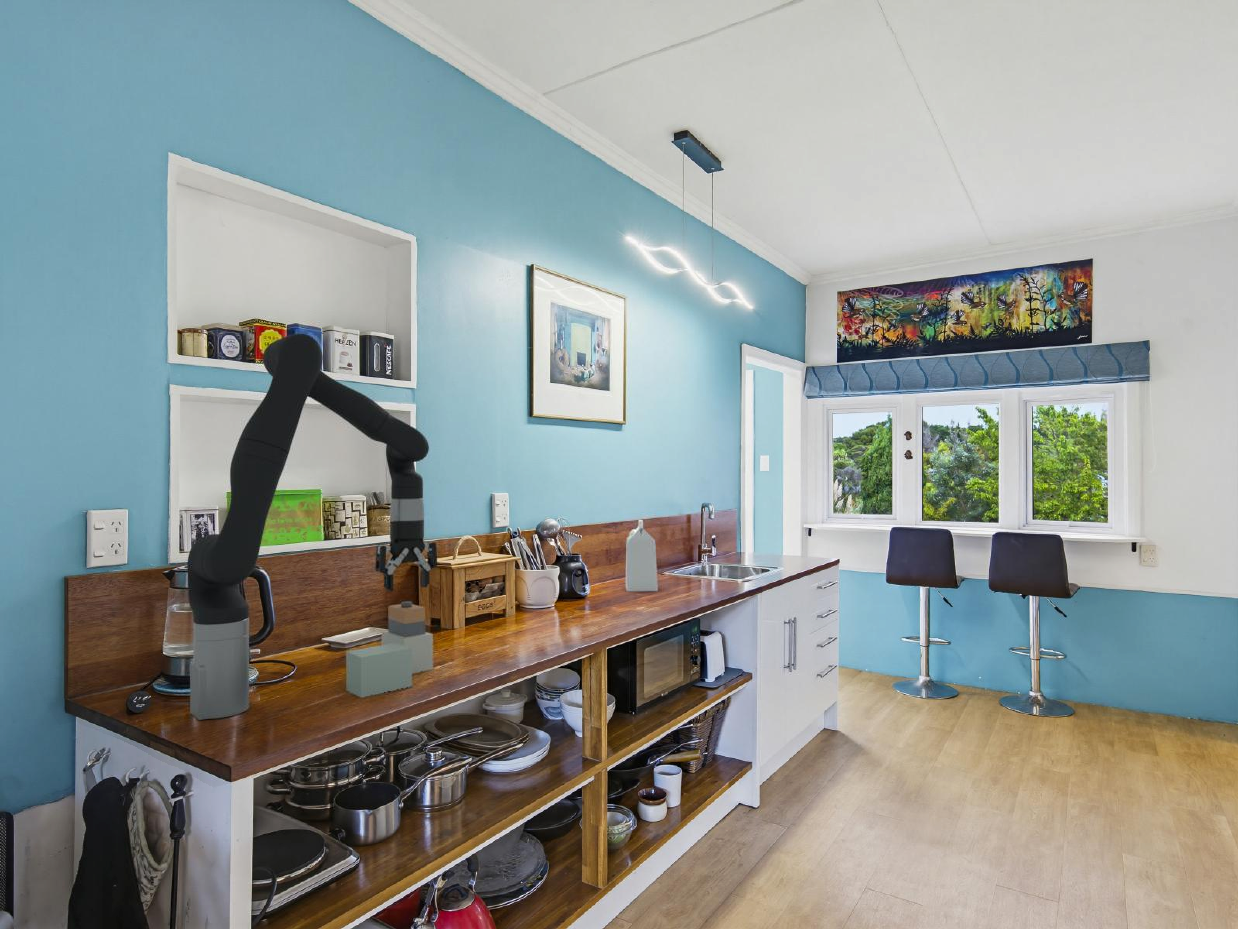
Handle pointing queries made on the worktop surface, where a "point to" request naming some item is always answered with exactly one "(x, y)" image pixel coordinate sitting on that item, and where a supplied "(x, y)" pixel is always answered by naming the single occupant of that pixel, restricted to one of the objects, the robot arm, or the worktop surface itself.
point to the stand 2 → (414, 649)
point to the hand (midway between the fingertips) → (406, 589)
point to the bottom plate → (406, 628)
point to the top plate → (406, 613)
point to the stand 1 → (378, 669)
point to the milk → (641, 561)
